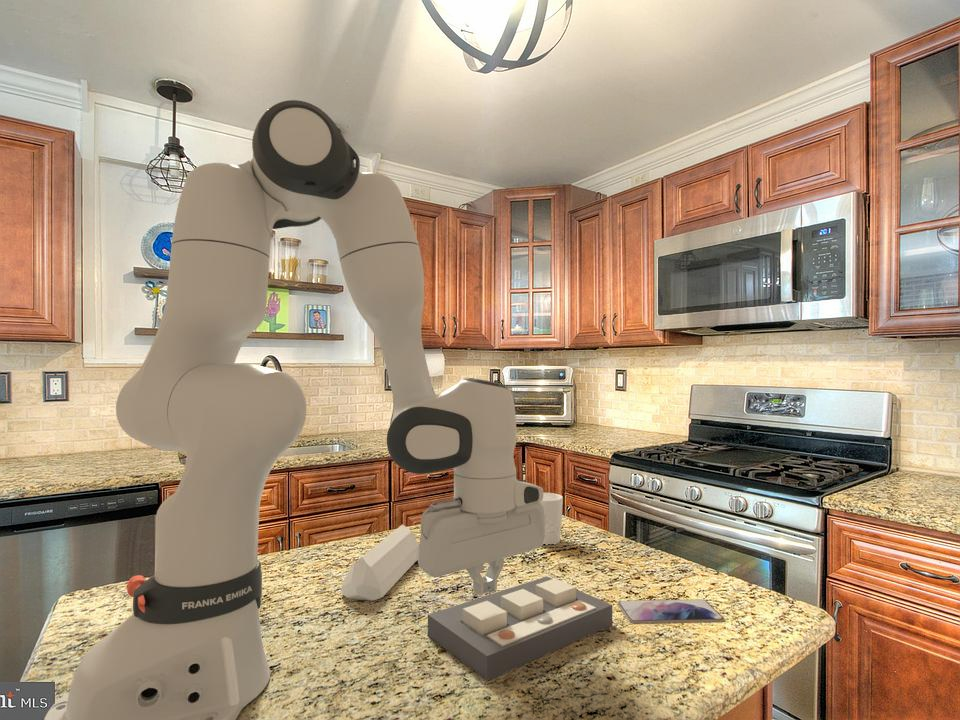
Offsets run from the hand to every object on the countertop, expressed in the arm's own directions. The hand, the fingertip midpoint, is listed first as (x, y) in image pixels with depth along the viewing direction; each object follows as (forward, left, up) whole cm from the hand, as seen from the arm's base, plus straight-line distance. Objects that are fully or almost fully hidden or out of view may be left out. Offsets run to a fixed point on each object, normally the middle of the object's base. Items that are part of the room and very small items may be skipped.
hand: (485, 592), depth 74 cm
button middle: (+7, 0, -5) cm, 9 cm away
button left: (0, 0, -5) cm, 5 cm away
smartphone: (+30, -10, -8) cm, 32 cm away
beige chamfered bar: (0, +31, -8) cm, 32 cm away
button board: (+7, 0, -7) cm, 10 cm away
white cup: (+39, +28, -8) cm, 48 cm away
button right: (+14, 0, -5) cm, 15 cm away
